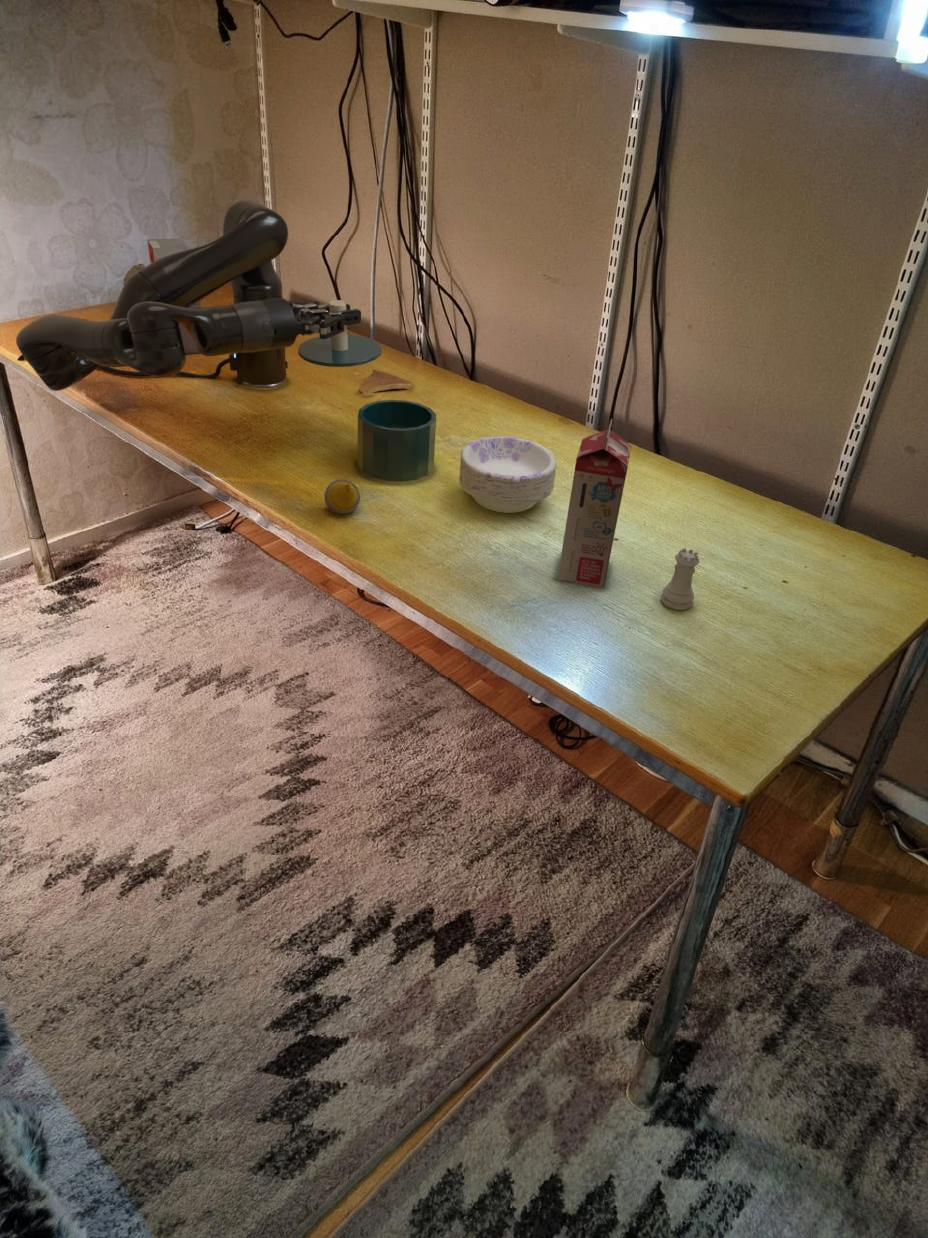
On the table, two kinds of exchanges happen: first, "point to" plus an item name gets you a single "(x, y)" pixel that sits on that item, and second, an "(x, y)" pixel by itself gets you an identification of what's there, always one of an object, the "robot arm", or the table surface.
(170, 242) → the hard drive box
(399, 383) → the pottery shard
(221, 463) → the table surface
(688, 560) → the rook chess piece
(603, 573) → the juice carton
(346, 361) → the lid
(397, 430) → the pot
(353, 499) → the drill bit
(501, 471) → the paper bowls
